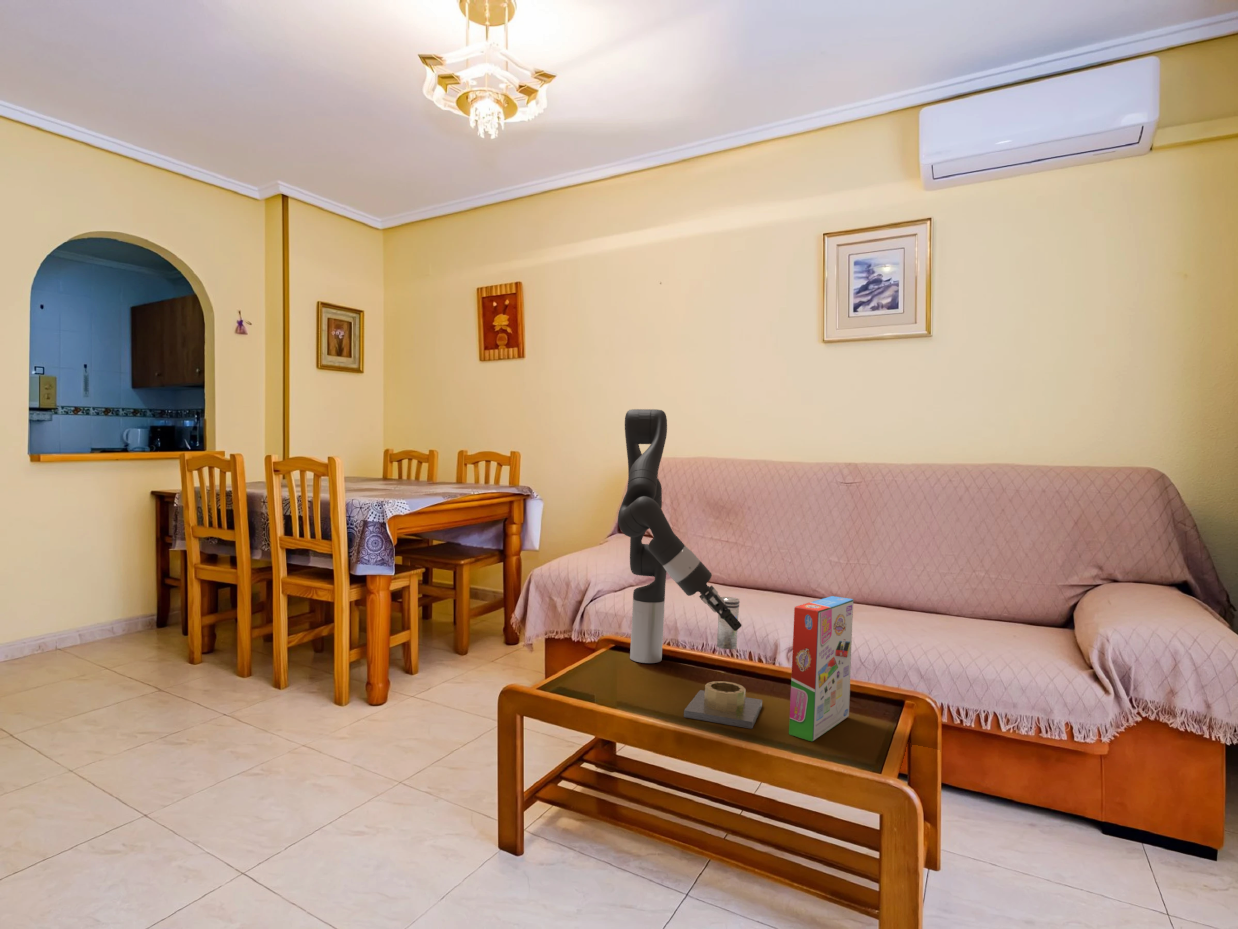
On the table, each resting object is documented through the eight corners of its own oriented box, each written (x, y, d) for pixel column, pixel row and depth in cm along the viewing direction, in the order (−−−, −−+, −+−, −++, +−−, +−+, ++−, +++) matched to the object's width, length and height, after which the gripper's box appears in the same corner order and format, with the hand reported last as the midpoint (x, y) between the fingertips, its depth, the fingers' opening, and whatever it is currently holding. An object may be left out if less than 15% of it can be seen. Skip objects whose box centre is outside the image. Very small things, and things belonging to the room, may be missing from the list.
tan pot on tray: (699, 696, 163) (700, 673, 163) (761, 706, 158) (763, 682, 158) (683, 717, 147) (685, 692, 148) (752, 729, 142) (753, 703, 143)
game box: (826, 711, 156) (831, 595, 157) (849, 718, 153) (855, 599, 153) (787, 735, 140) (793, 605, 141) (812, 742, 137) (818, 609, 137)
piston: (718, 643, 156) (721, 596, 156) (738, 646, 154) (741, 598, 154) (714, 647, 151) (717, 599, 152) (735, 650, 150) (737, 601, 150)
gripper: (703, 563, 146) (755, 621, 146) (695, 555, 160) (742, 608, 160) (677, 586, 146) (729, 644, 146) (671, 576, 160) (719, 629, 160)
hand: (736, 625), depth 153 cm, fingers closed on piston, 4 cm apart
